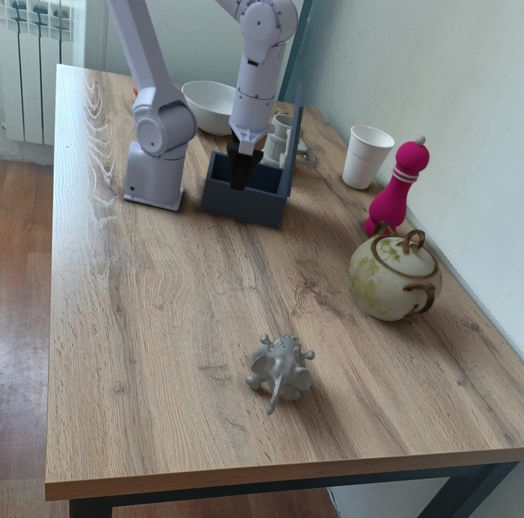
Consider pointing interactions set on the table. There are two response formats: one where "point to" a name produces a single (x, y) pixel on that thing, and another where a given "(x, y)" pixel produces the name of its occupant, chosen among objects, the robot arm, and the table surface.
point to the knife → (301, 144)
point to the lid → (294, 142)
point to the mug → (278, 141)
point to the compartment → (245, 193)
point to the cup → (365, 155)
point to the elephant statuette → (280, 368)
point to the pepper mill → (398, 186)
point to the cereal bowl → (210, 105)
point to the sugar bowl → (394, 275)
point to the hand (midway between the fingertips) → (237, 177)
